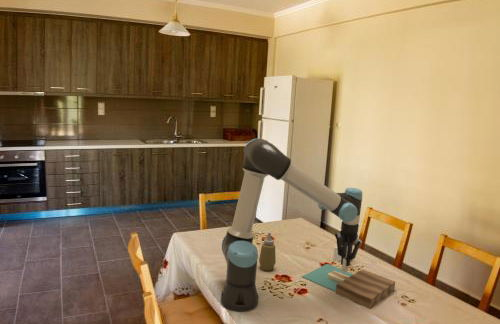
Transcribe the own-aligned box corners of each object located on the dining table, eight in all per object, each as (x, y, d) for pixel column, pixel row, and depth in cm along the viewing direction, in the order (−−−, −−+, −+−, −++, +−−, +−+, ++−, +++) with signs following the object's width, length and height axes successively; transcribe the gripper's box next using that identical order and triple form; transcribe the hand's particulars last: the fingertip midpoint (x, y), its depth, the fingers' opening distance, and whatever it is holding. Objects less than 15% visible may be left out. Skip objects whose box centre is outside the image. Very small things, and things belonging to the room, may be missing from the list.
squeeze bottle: (273, 273, 182) (276, 236, 179) (257, 270, 184) (259, 234, 181) (276, 266, 190) (279, 231, 187) (260, 263, 192) (262, 229, 189)
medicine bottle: (346, 263, 199) (348, 241, 197) (332, 259, 203) (335, 238, 201) (350, 259, 205) (353, 237, 203) (337, 255, 209) (339, 234, 207)
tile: (344, 285, 174) (344, 281, 174) (327, 278, 180) (327, 274, 180) (350, 281, 179) (351, 277, 179) (333, 274, 185) (333, 270, 184)
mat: (335, 292, 168) (335, 291, 168) (301, 277, 180) (301, 276, 180) (359, 277, 184) (359, 276, 184) (327, 264, 196) (327, 263, 196)
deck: (370, 308, 157) (371, 299, 156) (335, 293, 167) (336, 284, 167) (394, 289, 174) (395, 281, 174) (361, 277, 185) (362, 269, 184)
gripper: (367, 224, 172) (361, 274, 176) (341, 217, 180) (336, 264, 184) (359, 228, 166) (353, 279, 170) (333, 220, 175) (327, 269, 179)
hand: (344, 271), depth 177 cm, fingers closed
